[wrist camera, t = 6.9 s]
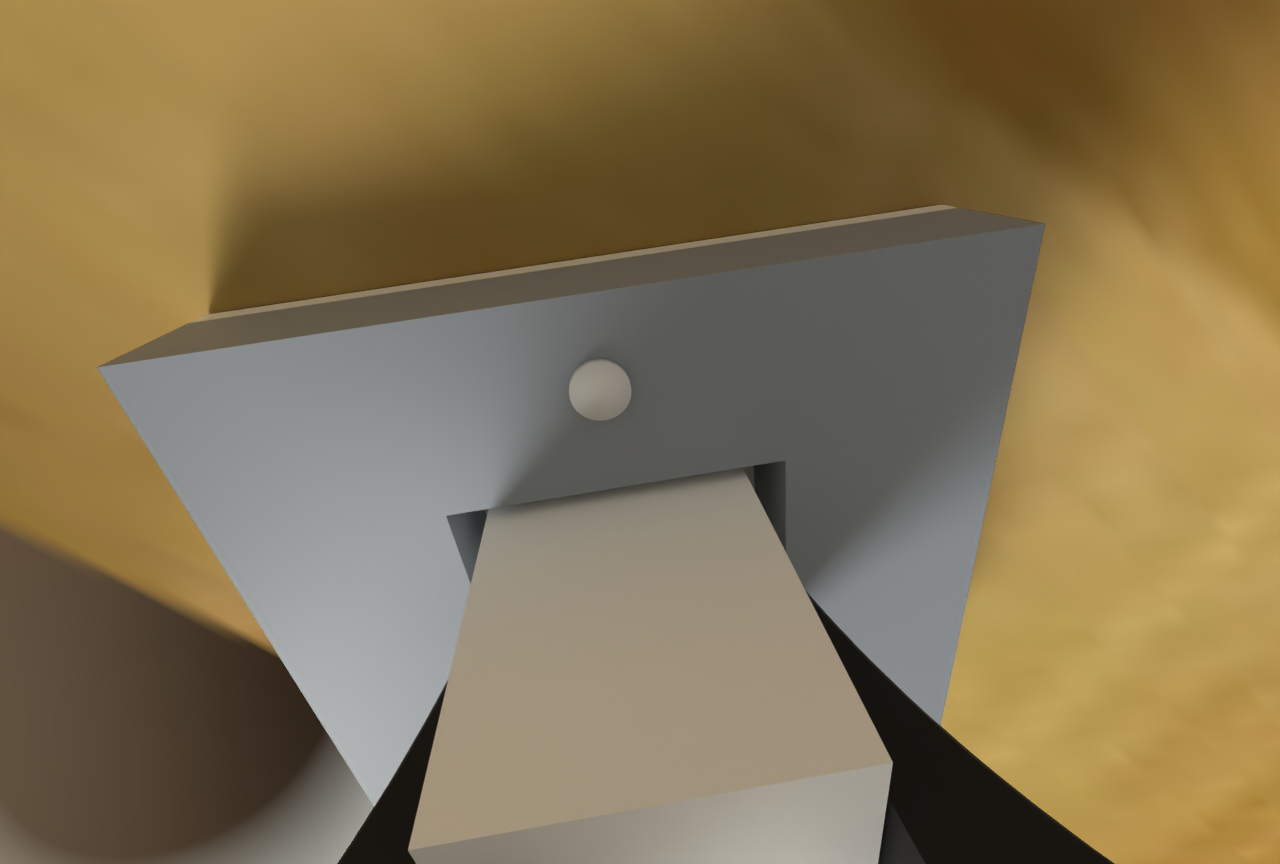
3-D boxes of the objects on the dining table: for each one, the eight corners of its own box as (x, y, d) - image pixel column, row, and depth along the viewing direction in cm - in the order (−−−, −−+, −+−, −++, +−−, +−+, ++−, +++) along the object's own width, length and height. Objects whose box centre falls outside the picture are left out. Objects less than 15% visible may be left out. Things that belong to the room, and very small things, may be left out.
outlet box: (942, 204, 10) (1056, 225, 8) (885, 660, 16) (941, 753, 13) (206, 314, 10) (84, 372, 7) (422, 741, 15) (394, 852, 13)
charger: (731, 444, 10) (892, 762, 5) (740, 615, 12) (863, 967, 7) (494, 482, 10) (407, 850, 5) (544, 648, 12) (520, 1033, 7)
